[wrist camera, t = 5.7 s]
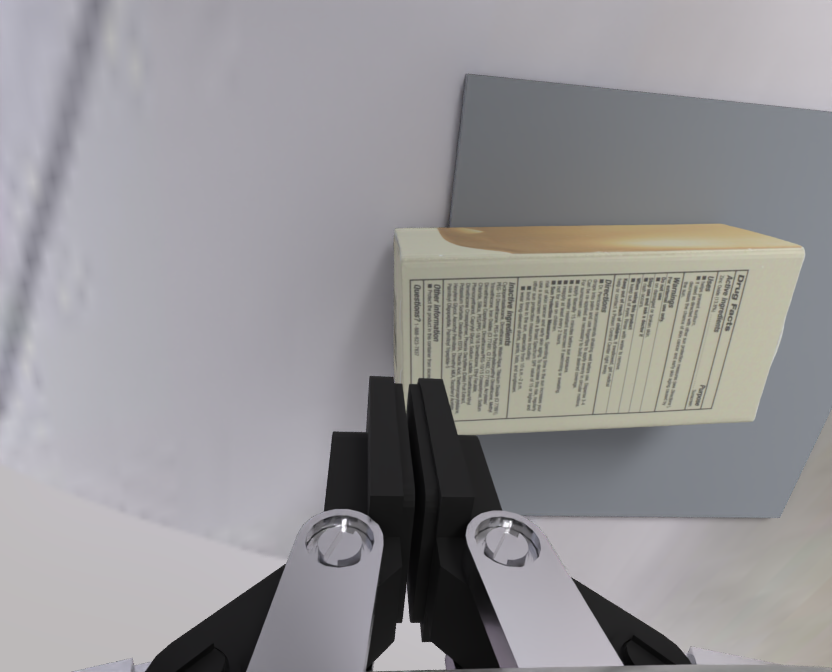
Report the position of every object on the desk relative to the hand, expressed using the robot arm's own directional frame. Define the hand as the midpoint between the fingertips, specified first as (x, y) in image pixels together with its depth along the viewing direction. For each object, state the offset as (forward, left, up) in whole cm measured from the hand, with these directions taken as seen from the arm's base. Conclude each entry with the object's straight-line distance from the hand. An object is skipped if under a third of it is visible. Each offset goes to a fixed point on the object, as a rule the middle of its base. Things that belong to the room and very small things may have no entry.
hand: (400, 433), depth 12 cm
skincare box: (0, 0, -6) cm, 6 cm away
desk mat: (+1, +11, -9) cm, 14 cm away
